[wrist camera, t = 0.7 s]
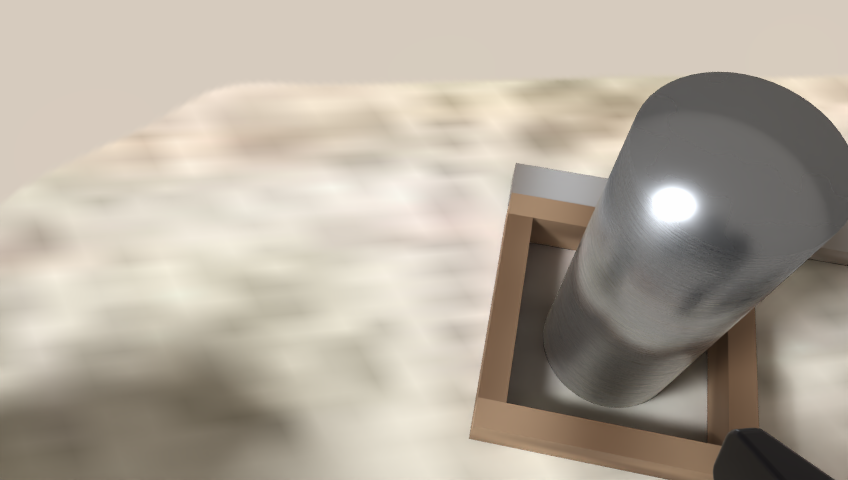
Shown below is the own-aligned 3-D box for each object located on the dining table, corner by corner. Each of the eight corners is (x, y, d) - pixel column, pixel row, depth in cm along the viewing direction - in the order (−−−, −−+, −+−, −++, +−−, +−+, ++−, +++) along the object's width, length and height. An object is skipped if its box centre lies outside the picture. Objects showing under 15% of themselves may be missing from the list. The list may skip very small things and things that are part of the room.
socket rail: (1148, 285, 28) (1197, 263, 27) (1254, 600, 23) (1325, 599, 21) (512, 175, 31) (518, 149, 29) (469, 438, 25) (473, 425, 23)
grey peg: (703, 352, 27) (904, 172, 16) (610, 436, 25) (761, 300, 14) (608, 259, 29) (727, 41, 18) (515, 331, 27) (584, 140, 16)
